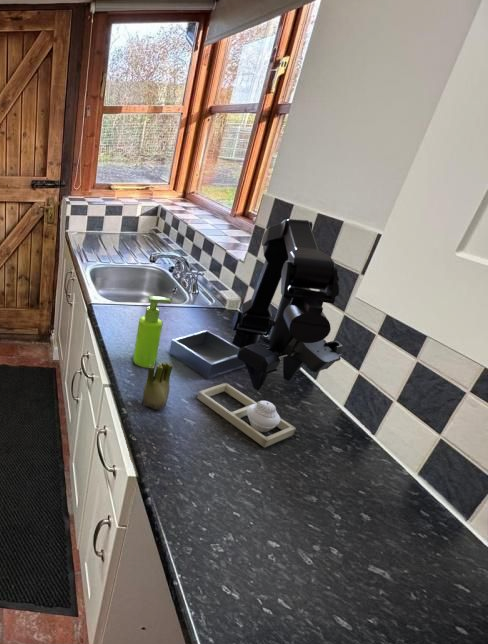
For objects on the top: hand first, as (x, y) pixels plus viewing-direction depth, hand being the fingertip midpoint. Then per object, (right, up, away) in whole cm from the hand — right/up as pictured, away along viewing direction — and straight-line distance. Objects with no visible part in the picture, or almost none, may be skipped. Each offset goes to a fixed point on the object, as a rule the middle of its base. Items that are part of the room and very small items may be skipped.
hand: (271, 384), depth 85 cm
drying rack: (-1, -9, +8) cm, 12 cm away
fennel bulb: (-20, -8, +12) cm, 25 cm away
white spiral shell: (+1, -11, +5) cm, 12 cm away
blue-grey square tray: (+2, +1, +29) cm, 29 cm away
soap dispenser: (-15, 0, +29) cm, 32 cm away
